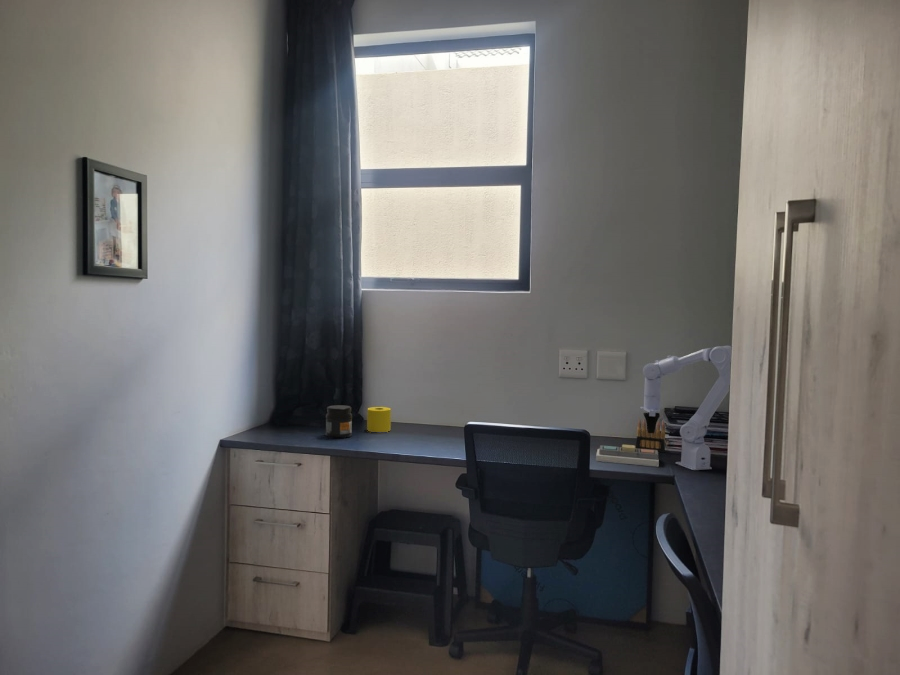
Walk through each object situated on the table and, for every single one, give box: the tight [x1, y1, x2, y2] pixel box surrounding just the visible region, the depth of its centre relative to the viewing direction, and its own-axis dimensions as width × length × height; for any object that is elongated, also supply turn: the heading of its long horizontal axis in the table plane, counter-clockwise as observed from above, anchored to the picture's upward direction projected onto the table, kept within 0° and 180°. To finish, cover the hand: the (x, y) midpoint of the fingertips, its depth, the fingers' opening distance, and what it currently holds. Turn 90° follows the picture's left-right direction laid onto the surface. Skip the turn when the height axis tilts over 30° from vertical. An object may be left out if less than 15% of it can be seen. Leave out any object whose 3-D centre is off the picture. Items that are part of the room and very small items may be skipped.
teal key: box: [603, 445, 617, 450], centre depth 222 cm, size 4×4×2 cm
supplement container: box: [325, 404, 353, 439], centre depth 249 cm, size 10×10×12 cm
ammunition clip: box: [635, 418, 666, 453], centre depth 237 cm, size 11×2×12 cm, turn 64°
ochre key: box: [621, 444, 636, 452], centre depth 220 cm, size 4×4×2 cm
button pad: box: [595, 445, 660, 468], centre depth 220 cm, size 21×11×4 cm, turn 74°
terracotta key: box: [641, 449, 654, 454], centre depth 218 cm, size 4×4×2 cm
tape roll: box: [366, 406, 392, 433], centre depth 262 cm, size 10×10×9 cm
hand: (650, 432), depth 224 cm, fingers closed
